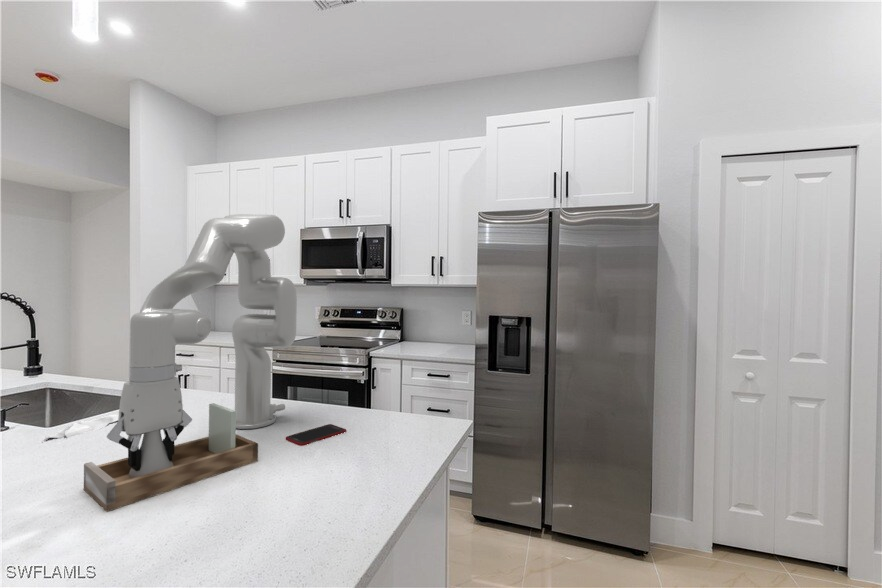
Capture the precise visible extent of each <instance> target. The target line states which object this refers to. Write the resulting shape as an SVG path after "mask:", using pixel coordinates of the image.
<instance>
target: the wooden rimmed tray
mask: <svg viewBox="0 0 882 588" xmlns="http://www.w3.org/2000/svg"><path fill="white" fill-rule="evenodd" d="M208 449H209V435H208V436H205V437H202V438H197V439H194V440H190V441H186V442H182V443H179V444H174V455H172V463H173V467H170V468H166V469H163V470H160V471H156V472H153V473H149V474H146V475H143V476H139V477H136V478H131V477H129V476H128V475H129V472H130V470H131V467H130V466H129V465H128V457H125V458H121V459H116V460H113V461H108V462H105V463H101V464H98V465H97V464H95V463H94V462H93V461H89V462H86V463H83V490H84V491H85V493H86V494H88V496H90V497H91V498H92V499H93V500H94V501H95V502H96V504H98V505H99V506H100V507H101V508H102V509H103V510H104V511H106V512H110V511H113V510H116V509H119V508H121V507H124V506H128V505H130V504H133V503H136V502H139V501H143V500H145V499H148V498H151V497H154V496H158V495H160V494H163V493H166V492H170V491H172V490H175V489H178V488H181V487H184V486H187V485H190V484H192V483H197V482H199V481H202V480H205V479H208V478H211V477H214V476H217V475H221V474H223V473H225V472H228V471H231V470H234V469H238V468H241V467H243V466H246V465H249V464H253V463H256V462H258V461H259V443H258V442H256V441H253V440H251V439H249V438H246V437H243V436H241V435H239V434H237V433H236V434H235V448H234V449H230V450H227V451H224V452H220V453H217V454H215V453H213V452H211V451H209V450H208Z"/></svg>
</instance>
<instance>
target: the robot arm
mask: <svg viewBox="0 0 882 588" xmlns="http://www.w3.org/2000/svg"><path fill="white" fill-rule="evenodd" d="M285 229H286V228H285V225H284V222H283V220H282V219H281V218H280V217H278V216H277V215H273V214H243V213H241V214H239V213H238V214H230V215H226V216H224V217H215V218H212V219H211V218H210V219H209V220H207V221H206V222H205V223H204V224H203V225H202V228H201V230H200V231H199V234H198V237H197V238H196V241H195V242H194V244H193V245H192V246H193V247H192V249H191V250H190V253H189V255H188V256H187V259H186V261H185V262H184V263H185V264H184V265H183V266H181V267H180V268H178V269H177V270H175V271H174V272H172V273H171V274H170V275H168V276H167V277H166V278H164V279H163V280H162V281H160V282H159V283H158V284H157V285H156V286H155V287H154V288H152V289H151V291H150V292H149V293H148V295H147V296H146V298H145V301H144V302H143V304H142V306H141V308H140V311H139V312H137V313H134V314H133V315H132V316H131V318H130V320H129V381H126V382H124V384H123V387H122V391H121V396H120V400H119V409H118V415H119V417H118V421H116V423H115V425H114V426H113V428H111V430H110V431H109V432H108V433H107V435H106V439H108V440H109V441H112V442H114V443H117V444H119V445H121V446H122V447H124V448H126V449H127V458H128V465H129V466H130V467H131V468H132V469H134V470H135V471H138V470H140V468H141V450H140V447H139V446H140V445H139V444H140V442H141V439H142V437H143V436H142V435H144V434H145V433H149V432H154V431H158V430H162V431H163V435H164V438H162V441H163V444H164V446H165V448H166V451H167V455H168V459H169V461H172V455H174V445H175V441H176V440H177V439H178V436H179V435H180V434H181V433H182V431H183V430H184V429H185V428H186V427H187V426H189V424H190V423H192V421H193V418H192V417H191V416H190V415H189V414H188V413H187V412H186V411H185V409H183V408H184V407H183V406H184V405H183V397H182V390H181V386H180V380H179V378H178V377H177V373H178V372H181V371H182V370H183V366H182V364H177V362H176V345H194V344H198V343H200V342H203V341H204V340H205V339H206V338H207V337H208V336H209V335H210V333H211V330H212V321H211V319H210V317H209V316H208V315H207V314H206V313H204V312H203V311H200V310H196V309H182V308H181V309H180V308H175V306H177V304H178V303H179V302H180V301H182V300H183V299H185V298H186V297H189V296H190V295H192V294H195V293H198V292H200V291H203V290H206V289H207V288H211V287H213V286H216V285H217V284H219V283H221V282H222V280H223V279H224V277H225V275H226V272H227V269H228V267H229V264H230V262H231V260H232V257H233V255H234V254H235V256H236V259H237V264H238V265H237V267H238V269H237V271H238V272H237V273H238V277H237V279H238V280H237V281H238V283H237V285H238V286H237V289H238V290H237V291H238V292H237V293H238V294H237V295H238V302H239V304H240V306H241V307H242V308H245V309H248V310H262V311H263V310H264V311H266V310H267V311H269V310H270V311H274V313H275V314H265V313H263V314H262V313H248V314H243V315H240V316H239V317H237V318H236V319H235V320H234V321H233V323H232V327H231V335H232V340H233V347H234V354H235V360H234V362H235V367H234V368H235V372H234V411H236V429H239V430H240V429H241V430H248V429H249V430H252V429H259V428H263V427H267V426H270V425H272V424H274V423H275V422H276V420H277V419H276V418H277V416H276V415H275V414H276V413H277V412H280V411H284V410H286V404H285V403H280V404H276V403H273V404H272V403H271V394H272V393H271V386H272V385H271V384H272V383H271V381H272V379H271V378H272V374H271V373H272V362H271V361H272V359H271V357H270V355H269V353H268V351H267V350H266V349H265V348H274V349H275V348H278V349H283V348H284V349H285V348H289V347H290V346H292V344H293V343H294V342H295V340H296V336H297V335H296V334H297V305H298V304H297V289H296V287H295V286H296V285H295V283H294V282H293V281H292V280H291V279H289V278H287V277H282V276H281V277H280V276H272V275H271V259H270V257H269V255H268V254H267V251H266V250H268V249H271V248H274V247H277V246H279V245H280V244H281V243H282V242H283V240H284V238H285V234H286V230H285ZM122 432H123V433H125V434H126V435H127V438H125V436H121V434H122Z"/></svg>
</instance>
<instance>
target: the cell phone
mask: <svg viewBox="0 0 882 588" xmlns="http://www.w3.org/2000/svg"><path fill="white" fill-rule="evenodd" d="M344 432H345V433H347V428H343V427H341V426H338V425H334V424H332V423H328V424H324V425H321V426H318V427H315V428H311V429H307V430H304V431H300V432H298V433H294V434H290V435H287V436H285V441H288V442H289V443H291V444H294V445H297V446H299V447H303V446H308V445H310V444H313V443H315V442H316V441H317V442H320V441H323V439H324V440H326V439H329V438H333V437H336V436H339V435H342V434H344ZM341 433H342V434H341ZM338 434H339V435H338ZM335 435H336V436H335ZM332 436H333V437H332ZM307 444H308V445H307Z"/></svg>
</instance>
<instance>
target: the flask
mask: <svg viewBox="0 0 882 588" xmlns="http://www.w3.org/2000/svg"><path fill="white" fill-rule="evenodd" d="M142 435H143V436H142V440H141V445H140V447H139V449H140V450H141V468H140V470H138V471H135V470H134V469H132V468H131V470H130V472H129V475H128V476H129V477H131V478H136V477H139V476H143V475H146V474H149V473H153V472H156V471H160V470H163V469H166V468H170V467H173V463H172V461H169V459H168V455H167V451H166V448H165V446H164V444H163V441H162V440H163V438H162V432H161V430H158V431H154V432H149V433H145V434H142Z"/></svg>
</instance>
